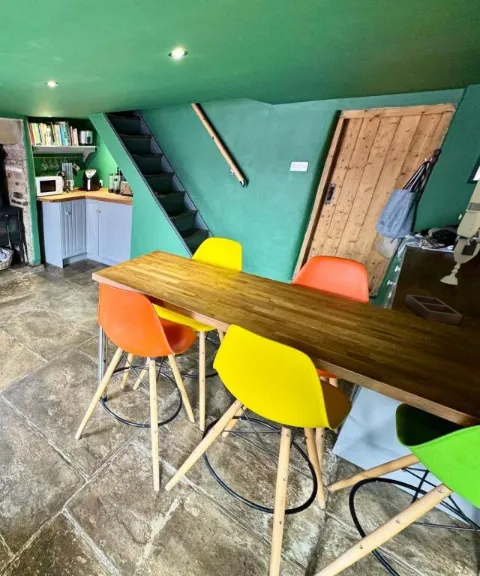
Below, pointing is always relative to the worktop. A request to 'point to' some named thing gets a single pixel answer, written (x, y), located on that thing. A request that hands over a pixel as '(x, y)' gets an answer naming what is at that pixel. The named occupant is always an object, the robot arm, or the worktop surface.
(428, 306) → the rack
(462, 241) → the chalice
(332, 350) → the worktop surface
